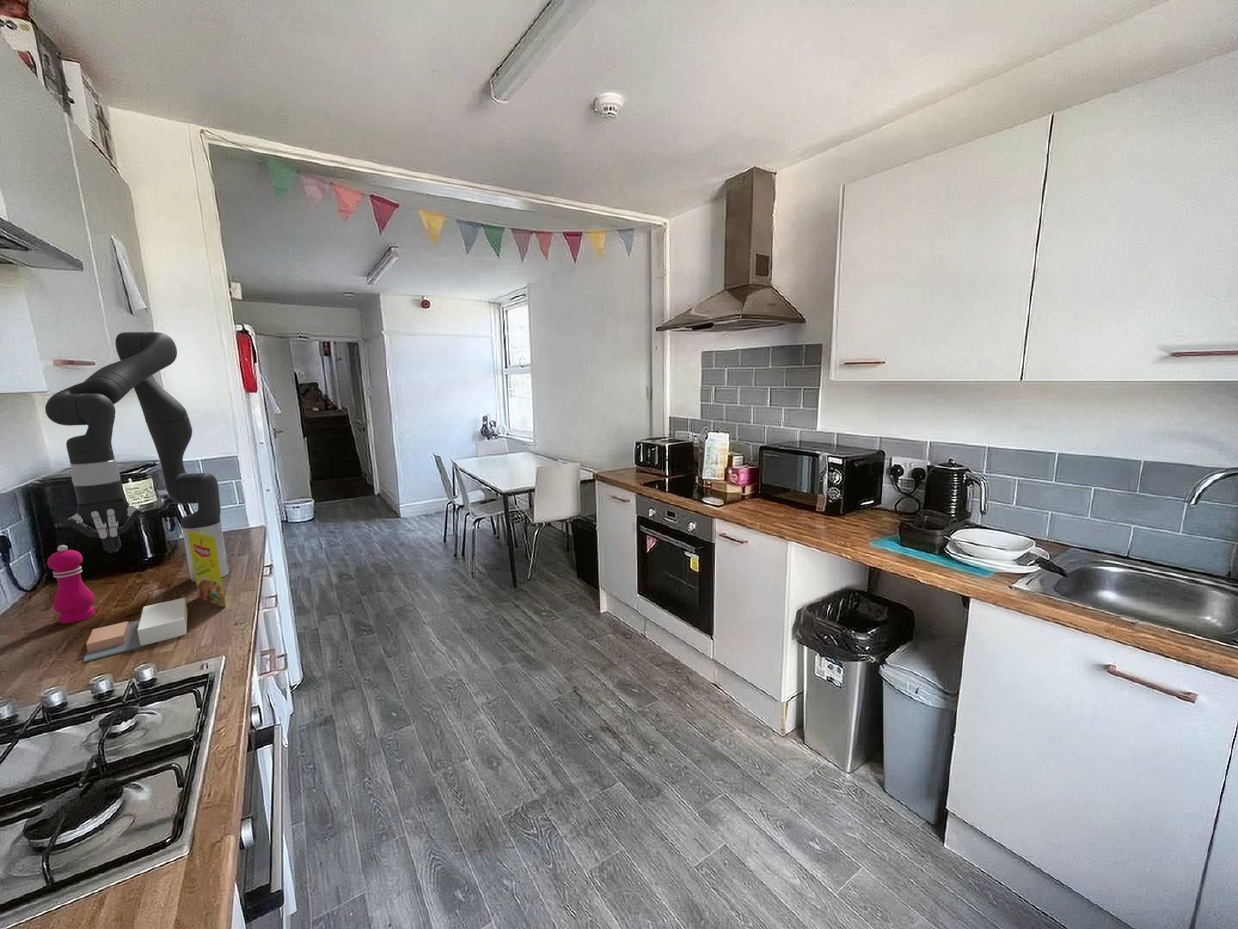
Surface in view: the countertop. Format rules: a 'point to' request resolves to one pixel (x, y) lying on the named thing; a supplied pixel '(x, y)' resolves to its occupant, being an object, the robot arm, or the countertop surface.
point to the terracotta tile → (108, 636)
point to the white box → (163, 621)
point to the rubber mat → (129, 645)
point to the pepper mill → (70, 586)
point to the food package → (206, 568)
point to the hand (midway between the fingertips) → (113, 551)
